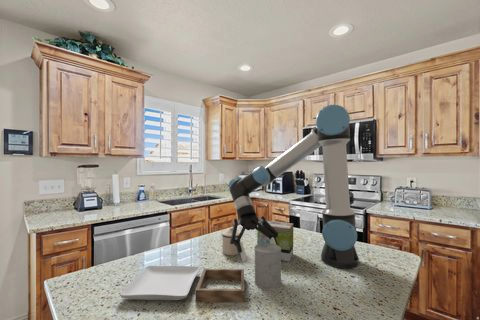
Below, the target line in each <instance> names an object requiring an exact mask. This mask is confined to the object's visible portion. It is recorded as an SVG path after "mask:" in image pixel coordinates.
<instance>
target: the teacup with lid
mask: <svg viewBox="0 0 480 320" xmlns="http://www.w3.org/2000/svg"><path fill="white" fill-rule="evenodd" d="M232 231H233V226H232V227H229V229H227V230H225V231H223V232H222V233H221V237H222V245H221V246H222V249H221V250H222V254H224V255H226V256H237V255H239V254H240V253H238V251H237V248H236V246H235V245H234V244H230V240H231V235H232ZM240 232H241V231H239V230H237V231H236V236H235V239H236V240H237V238H238V236H239V234H240Z"/></svg>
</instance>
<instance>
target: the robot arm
mask: <svg viewBox="0 0 480 320" xmlns="http://www.w3.org/2000/svg"><path fill="white" fill-rule="evenodd" d="M350 122H351V117H350V114H349V112H348V111H347V109H346V108H345V107H344V106H342V105H339V104H329V105H326V106H324V107H322V108H321V109H320V110H319V111H318V112H317V114H316V118H315V126H314V127H313V128H311V130H310V133H309V134H307V135H306V136H304V137H302V139H300V140H299V141H298V142H296V143H295V144H294V145H292V146H291V147H290V148H288V149H287V150H286V151H284V152H283V153H282V154H281V155H279V156H278V157H276V158H275V159H274V160H272V161H271V162H270V163H268V165H266V166H263V165H259V166H258V167H256V168H254V169H253V170H252V171H251V172H249V173H247V174H246V175H245V176H244V177H243V178H242V177H240V176H238V177H235V178H232V179H230V181H229V183H228V189H229V193H230V195H231V198H232V201H233V205H234V209H235V211H236V214H237V218H234V219H233V220H232V221H233V222H232V227H233V231H232V235H231V240H230V244H234V245H235V246H236V248H237V251H238V253H239V254H240V257H241V260H242V262H243V263H246V261H247V260H248V257H247V254H246V250H245V247H244V245H243V241H241V240H242V238H243V235H244V233H245V231H246V230H247V231H251V230H252V231H253V230H256V231H257V230H259V231H260V232H261V233H263V234H264V235H265V236H267V237H268V238H269V239H270V244H275V245H278V243H277V241H276V237H277V236H278V232H277V231H276V230H275V229H274V228H273V227H272V226H271V225H270V224H269V223H268V222H267V221H268V220H267V219H266V217H265V216H264V215H262V216H261V217H258V216H257V213H256V210H255V208H254V204H253V202H252V199H251V197H250V194H252V193H253V192H254V191H256V190H257V189H259V188H260V187H264V186H268V185H271V183H273V182H274V181H275V180H276V179H278V178H279V177H280V176H282V174H284V173H286V172H287V171H288V170H290V169H291V168H292V167H294V166H295V165H297V164H298V163H299V162H301V161H303V160H304V159H305V158H306V157H308V156H309V155H310V154H312V153H313V152H315V151H316V150H318V149H319V148H320V147H322V160H323V161H322V164H323V165H322V166H323V180H324V181H323V182H324V194H325V196H324V197H325V208H324V209H323V210H321V211H322V212H321V214H322V231H321V235H322V238H323V241H324V244H323V248H322V250H321V255H320V260H321V261H322V262H323V263H324V264H326V265H329V266H330V267H333V268H339V269H355V268H357V267H358V266H359V265H360V259H359V256H358V252H357V249H356V246H355V245H356V243H357V240H358V232H357V226H356V225H357V224H356V212H355V211H354V210H353V209H352V208H351V201H350V187H349V183H350V182H349V171H348V170H349V169H348V153H347V144H348V143H349V142H350V141H351V134H350V132H351V131H350ZM239 225H240V226H241V227H242V228H241V229H240V231H239V232H240V234H239V236H238V238H237V240H236V239H235V236H236V231H238V226H239ZM262 225H263V226H264V227H263V226H262Z"/></svg>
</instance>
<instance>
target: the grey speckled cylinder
mask: <svg viewBox="0 0 480 320" xmlns="http://www.w3.org/2000/svg"><path fill="white" fill-rule="evenodd" d="M254 284H255V285H256V286H257V287H258V288H260V289H264V290H276V289H278V288H280V287H281V286H282V260H281V247H280V246H278V245H275V244H268V243H264V244H258V245H257V244H256V245H255V246H254Z"/></svg>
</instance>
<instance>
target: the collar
mask: <svg viewBox="0 0 480 320" xmlns="http://www.w3.org/2000/svg"><path fill="white" fill-rule="evenodd" d="M207 280H214V281H216V280H223V281H224V280H225V281H227V280H228V281H240V288H204V286H205V284H206V281H207ZM196 302H197V303H199V302H200V303H203V302H204V303H206V302H207V303H245V269H244V268H203V270H202V273H201V275H200V278H199V280H198V283H197V285H196V288H195V303H196Z"/></svg>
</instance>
